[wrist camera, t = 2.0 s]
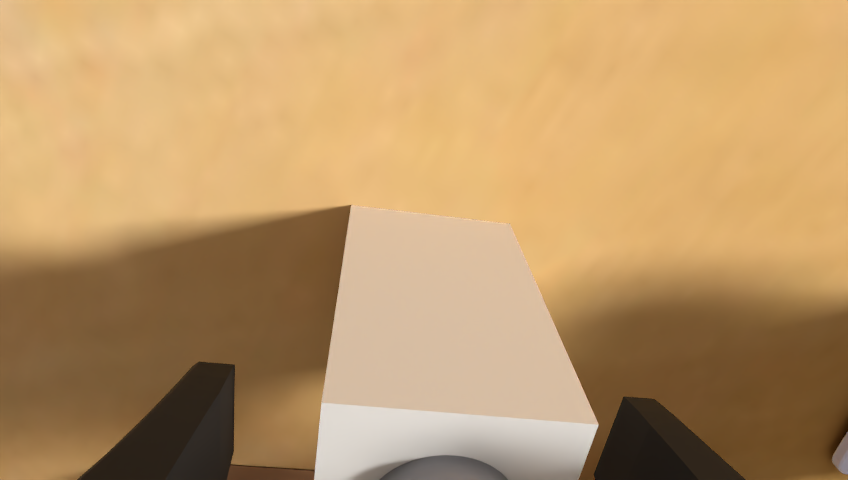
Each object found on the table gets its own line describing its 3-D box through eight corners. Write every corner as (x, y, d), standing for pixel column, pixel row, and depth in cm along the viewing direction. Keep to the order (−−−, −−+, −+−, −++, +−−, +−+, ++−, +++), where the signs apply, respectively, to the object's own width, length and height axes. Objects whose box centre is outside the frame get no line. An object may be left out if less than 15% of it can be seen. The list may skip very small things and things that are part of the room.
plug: (509, 223, 15) (613, 456, 8) (479, 351, 17) (543, 633, 10) (351, 204, 14) (316, 435, 8) (337, 338, 16) (298, 623, 9)
